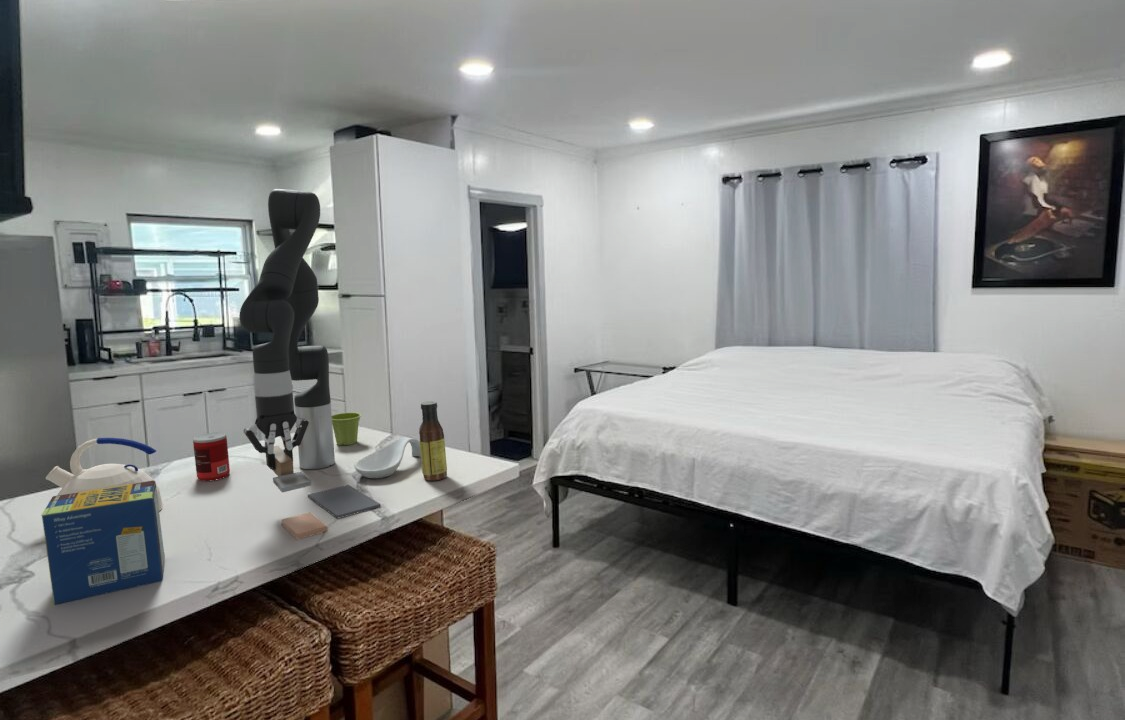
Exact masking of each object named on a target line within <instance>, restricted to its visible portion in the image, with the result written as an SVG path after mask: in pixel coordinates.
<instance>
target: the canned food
mask: <svg viewBox="0 0 1125 720" xmlns="http://www.w3.org/2000/svg"><path fill="white" fill-rule="evenodd" d="M192 444H193V446H192V447H193V453H194V455H193V456H194V462H195V463H194V464H195V471H196V473H195V474H196V478H197V479H198V481H199V482H200V481H201V482H211V481H210V480H214V481H217V480H216V479H219V480H221V479H220V478H222V479H224V478H223V477H225V478H227V477H228V476H229V475H230V472H231V469H230V468H231V467H230V458H229V448H228V447H229V446H228V438H227V433H225V432H209V433H204V434H200V435H196V436H194V437H193V439H192ZM226 476H227V477H226Z"/></svg>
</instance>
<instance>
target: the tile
mask: <svg viewBox="0 0 1125 720" xmlns="http://www.w3.org/2000/svg"><path fill="white" fill-rule="evenodd" d="M280 520H281V525H283V528H284V529H286V530H287V531H288V532H289V533H290V532H291V533H292V534H293V535H294V536H295V538H296V539H297V540H299V539H303V538H308V537H311V536H313V535H314V534H315V535H318V534H320V533H321V532H322V533H324V531H325V532H328V525H326V523H324V522H322V520H320V519H319V518H318V517H316V516H315V515H314V514H312V513H311V512H305V513H301V514H298V515H294V516H290V517H287V518H283V519H280ZM291 533H290V534H291ZM317 533H318V534H317ZM292 534H291V535H292ZM293 535H292V536H293ZM310 535H311V536H310ZM307 536H308V537H307Z"/></svg>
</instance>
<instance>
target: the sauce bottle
mask: <svg viewBox="0 0 1125 720" xmlns="http://www.w3.org/2000/svg"><path fill="white" fill-rule="evenodd" d="M420 409H421V413H422V416H421V417H422V422H421V424H420V426H419V431H418V433H419V441H420V449H421V457H420V458H421V460H420V461H421V469H422V471H421V472H422V474H423V475H422V476H423V479H424V480H425V481H430V482H434V481H435V482H436V481H437V482H438V481H441V480H444V479H445V478H447V476H448V472H447V471H448V464H447V454H446V442H445V441H446V440H445V434H444V433H445V432H444V428H443V427H442V425H441V423H440V421H439V419H438V417H439V416H438V402H437V401H432V400H431V401H424V402H421V403H420Z"/></svg>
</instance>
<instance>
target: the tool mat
mask: <svg viewBox="0 0 1125 720" xmlns="http://www.w3.org/2000/svg"><path fill="white" fill-rule="evenodd" d="M309 497H310V498H311V499H310V498H309ZM307 498H309V499H310V500H312V501H313V500H314V501H315V502H314V501H313V502H314V503H316V502H317V503H318V504H319V506H320V505H321V506H322V507H323V508H322V507H321V506H320V507H321V508H322V509H324V508H325V509H326V510H325V509H324V510H325V511H326V512H328V511H329V512H330V513H329V512H328V513H329V514H331V515H332V514H333V515H334V516H333V515H332V516H333V517H334V518H336V517H337V518H336V519H339V518H338V517H341V518H343V517H342V516H344V517H347V516H346V515H348V516H351V515H354V513H355V514H358V513H357V512H359V513H362V512H366V511H370V510H373V509H376V507H377V508H380V506H381V503H380V502H378V501H376V500H375V499H373V498H371V497H369V496H368V495H366V493H363V492H362V491H360V490H358V489H357V488H355V487H354V486H352V485H350V484H345V485H340V486H337V487H333V488H330V489H329V488H328V489H325V490H321V491H316V492H313V493H308V494H307ZM317 503H316V504H317ZM318 504H317V505H318ZM369 509H370V510H369ZM365 510H366V511H365ZM361 511H362V512H361ZM350 514H351V515H350Z"/></svg>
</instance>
